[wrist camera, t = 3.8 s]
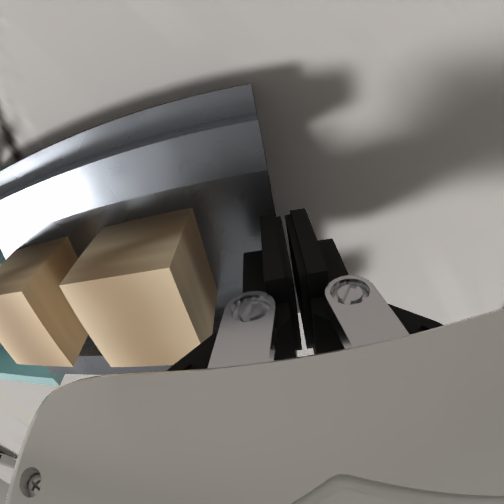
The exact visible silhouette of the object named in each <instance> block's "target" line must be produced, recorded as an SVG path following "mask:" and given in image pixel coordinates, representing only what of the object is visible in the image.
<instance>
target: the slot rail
mask: <svg viewBox="0 0 504 504" xmlns="http://www.w3.org/2000/svg"><path fill="white" fill-rule="evenodd" d="M187 208H193V212H194V215H195V219H196V222H197V225H198V229H199V232H200V235H201V239H202V242H203V245H204V249H205V252H206V255H207V259H208V262H209V265H210V268H211V271H212V275H213V278H214V281H215V284H216V287H217V290H218V292H217V300H216V308H215V316H214V324H213V332H212V334H214V333H215V332H216V331H217V330H219V327H220V323H221V320H222V317H223V313H224V310H225V307H226V305H227V303H228V302H229V301H230V300H231V299H232V298H234V297H236V296H237V295H239V294H242V292H243V254H244V253H246V252H253V251H259V250H262V245H261V231H260V217H259V216H261V215H267V214H273V213H274V217H276V215H275V210H274V204H273V198H272V192H271V187H270V181H269V176H268V170H267V164H266V159H265V154H264V148H263V143H262V138H261V132H260V127H259V122H258V117H257V112H256V107H255V102H254V97H253V92H252V87H251V84H246V85H241V86H236V87H231V88H226V89H221V90H216V91H212V92H208V93H203V94H199V95H195V96H191V97H187V98H183V99H179V100H176V101H172V102H168V103H165V104H161V105H158V106H155V107H151V108H148V109H145V110H141V111H138V112H135V113H132V114H129V115H126V116H123V117H120V118H117V119H115V120H112V121H109V122H106V123H104V124H101V125H98V126H96V127H93V128H90V129H88V130H85V131H83V132H80V133H78V134H75V135H73V136H71V137H68V138H66V139H64V140H61V141H59V142H57V143H55V144H52V145H50V146H48V147H46V148H44V149H42V150H39V151H37V152H35V153H33V154H31V155H29V156H27V157H25V158H23V159H21V160H19V161H17V162H15V163H13V164H12V165H10V166H8V167H6V168H4V169H2V170H0V248H1V250H2V252H3V254H4V256H5V258H6V259H7V258H8V257H9V256H10V255H11V254H12V253H13V251H16V250H19V249H23V248H26V247H30V246H33V245H37V244H40V243H44V242H48V241H51V240H55V239H59V238H63V237H66V236H68V238H69V240H70V243H71V245H72V247H73V249H74V251H75V253H76V255H77V258H79V257H80V256H81V255H82V253H83V252H84V251H85V249H86V248H87V247H88V245H89V244H90V243H91V242H92V240H93V239H94V238H95V236H96V235H97V234H98V233H99V231H100V230H101V229H102V228H103V227H106V226H110V225H115V224H119V223H123V222H127V221H132V220H136V219H141V218H145V217H150V216H154V215H159V214H163V213H168V212H173V211H178V210H182V209H187ZM296 357H297V350H296ZM171 366H172V365H164V366H141V367H111V366H110V365H109V363H108V362H107V361H106V359H105V358H104V356H103V355H102V354H101V352H100V351H99V349H98V348H97V346H96V345H95V343H94V342H93V340H92V339H91V337H90V336H89V334H88V336H87V338H86V341H85V343H84V345H83V347H82V349H81V351H80V353H79V356H78V358H77V360H76V362H75V365H74V367H60V366H45V367H46V368H47V369H48V371H49V372H50V373H65V374H94V375H110V374H129V373H145V372H165V371H167V370H168V369H169V368H170V367H171Z"/></svg>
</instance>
